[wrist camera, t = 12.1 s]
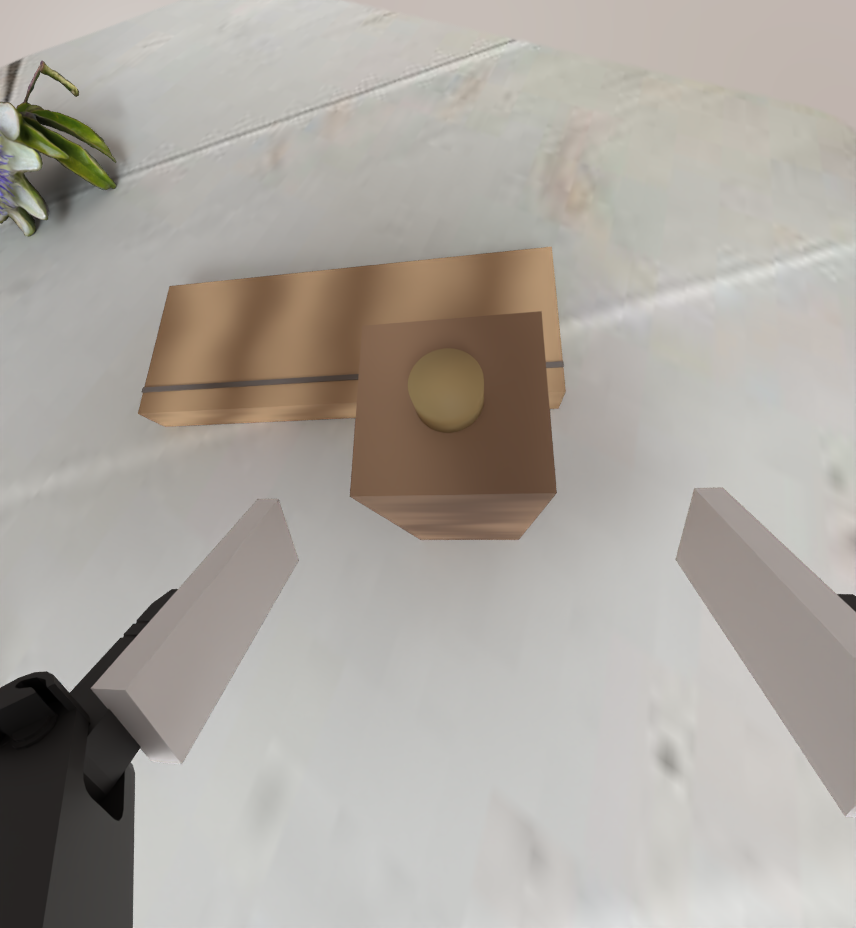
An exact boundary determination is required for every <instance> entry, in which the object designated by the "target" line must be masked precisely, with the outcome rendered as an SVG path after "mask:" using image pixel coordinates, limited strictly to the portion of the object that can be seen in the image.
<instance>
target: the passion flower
mask: <svg viewBox="0 0 856 928" xmlns="http://www.w3.org/2000/svg"><path fill="white" fill-rule="evenodd" d="M40 72H41V73H42V74H45V75H48V76H50V77H51V78H53V79H55V80H57V81H59V82H60V83H61V84H63V85H64V86H65V87H66V88H67V89H68V90H69V91H70V92H71V93H72V94H73V95H74V96H76V97H77V96H78V95H79V91H78V89H77V88H76V87H75V86H74V85H73V84H72V83H71V82H69V81H68V80H66V79H65V78H64V77H63V76H62V75H60V74H59V73H58V72H56V71H54V70H52V69H50V68H49V67H48V66H47V65H46V64H45V62H44V61H41V63H40V66H39V68H38V69H37V71H36V73H35V74H34V77H33V79H32V81H31V83H30V85H29V87H28V91H27V95H26V97H25V100H24V102H23V103H22V104H20V105H18V106H17V109H16V108H15V107H14V106H13V105H12V104H11V103H9V102H0V223H1V224H2V223H3V221H6V220H7V218H8V217H9V216H10V217H11V218H12V219H13V220H14V221H15V223H16V224H17V225H18V227H19V228H20V229H21V230H22V231H23V232H24V235H25V236H31V235H32V234H33V233H34V232H35V230H36V228H35V220H34V219H33V217H32V216H34V217H36V218H39V219H41V220H48V212H49V210H48V207H47V205H46V203H45V201H44V199H43V198H42V197H41V195H40V194H39V192H38V191H37V190H36V189H35V188H34V187H33V186H32V185H31V183H30V182H29V181H28V179H27V178H26V177H25V175H24V173H25V172H32V171H38V170H41V168H42V165H43V163H42V158H41V155H40V154H39V152H40V153H43V154H45V155H46V156H48V157H51V158H54V159H56V160H57V161H59V162H60V163H61V164H62V165H63V166H64V167H66V168H68V169H70V170H71V171H72V172H74V173H75V174H77V175H79V176H80V177H82V178H83V179H84V180H86V181H88V182H89V183H91V184H93V185H94V186H96V187H98V188H100V189H102V190H107V189H109V188H112V189H115V188H116V184H115V183H114V182H113V180H112V179H111V178H110V177H109V176H108V175H107V173H106V172H105V171H104V170H103V168H102V167H101V166H100V165H99V163H98V162H97V161H96V160H95V159H94V158H93V157H92V156H91V155H90V154H89V153H88V152H87V151H86V150H85V149H83V148H82V147H81V146H80V145H78V144H76V143H74V142H72V141H70V140H68V139H66V138H65V137H63V136H62V135H60V134H58V133H57V132H54V131H51V130H49V129H47V128H46V127H44V126H42V125H46V126H49V127H53V128H55V129H57V130H59V131H63V132H66V133H68V134H70V135H72V136H74V137H76V138H77V139H79V140H81V141H83V142H85V143H87V144H88V145H90V146H91V147H93V148H96V149H97V150H99V151H100V152H102V153H103V154H105V155H107V156H108V157H109V158H111V159H112V160H113V161H114V162H115V163H116V160H115V158H114V157H113V156H112V154H111V152H110V150H109V148H108V147H107V146H106V144H105V143H104V140H103V139H102V138H101V137H99V135H98V134H97V133H95V132H94V131H93V130H92V129H91V128H90V127H88V126H87V125H85V124H83V123H82V122H80V121H78V120H76V119H74V118H71V117H69V116H66V115H64V114H61V113H58V112H53V111H52V112H51V111H49V110H44V109H43V108H42V107H40V106H37V105H31V104H29V103H28V102H27V101H28V98H29V95H30V93H31V92H32V90H33V89H34V85H35V82H36V80H37V79H38V77H39V75H40ZM41 124H42V125H41ZM29 213H30V214H31V215H32V216H31V215H30V214H29Z"/></svg>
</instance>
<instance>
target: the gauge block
mask: <svg viewBox="0 0 856 928" xmlns="http://www.w3.org/2000/svg"><path fill="white" fill-rule="evenodd" d="M556 493H557V491H556V479H555V467H554V455H553V443H552V431H551V419H550V407H549V395H548V383H547V371H546V359H545V347H544V335H543V323H542V311H538V312H525V313H513V314H501V315H488V316H476V317H464V318H452V319H439V320H427V321H415V322H402V323H390V324H378V325H365V326H362V336H361V350H360V364H359V378H358V391H357V405H356V419H355V433H354V446H353V460H352V474H351V488H350V497H351V498H353V499H355V500H356V501H358V502H360V503H361V504H363V505H365V506H366V507H368V508H369V509H371V510H373V511H374V512H376V513H378V514H379V515H381V516H383V517H384V518H386V519H388V520H389V521H391V522H392V523H394V524H396V525H397V526H399V527H401V528H402V529H404V530H406V531H407V532H409V533H410V534H412V535H414V536H415V537H417V538H419V539H420V540H519V539H520V538H521V536H522V535H523V534H524V533H525V531H526V530H527V529H528V528H529V527H530V525H531V524H532V523H533V522H534V520H535V519H536V518H537V517H538V515H539V514H540V513H541V512H542V511H543V509H544V508H545V507H546V506H547V504H548V503H549V502H550V501H551V499H552V498H553V497H554V496H555V494H556Z"/></svg>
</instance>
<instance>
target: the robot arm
mask: <svg viewBox="0 0 856 928" xmlns="http://www.w3.org/2000/svg"><path fill="white" fill-rule="evenodd" d="M298 561H299V559H298V556H297V553H296V550H295V547H294V544H293V541H292V538H291V535H290V532H289V529H288V526H287V523H286V520H285V517H284V514H283V511H282V508H281V505H280V502H279V499H257V501H256V502H255V503H254V504H253V505H252V506H251V507H250V508H249V510H248V511H247V512H246V513H245V514H244V515H243V516H242V518H241V519H240V520H239V521H238V522H237V523H236V524H235V525H234V527H233V528H232V529H231V530H230V531H229V532H228V533H227V535H226V536H225V537H224V538H223V539H222V540H221V541H220V542H219V544H218V545H217V546H216V547H215V548H214V549H213V550H212V552H211V553H210V554H209V555H208V556H207V557H206V558H205V559H204V561H203V562H202V563H201V564H200V565H199V566H198V567H197V568H196V570H195V571H194V572H193V573H192V574H191V575H190V576H189V578H188V579H187V580H186V581H185V582H184V583H183V584H182V585H181V587H180V588H179V589H172V590H170V591H169V592H167V593H166V594H165V595H163V596H162V597H160V598H159V599H158V600H156V601H155V602H154V603H152V604H151V605H150V606H149V607H148V609H147V610H146V611H145V612H144V613H143V614H142V615H141V616H140V617H139V618H138V619H137V623H136V624H133V625H132V626H131V627H130V628H129V629H128V630H127V631H126V632H125V633H124V637H123V638H120V639H119V640H118V641H117V642H116V643H115V644H114V645H113V646H112V648H111V649H110V650H109V651H108V652H107V653H106V654H105V655H104V656H103V657H102V658H101V660H100V661H99V662H98V663H97V664H96V665H95V666H94V667H93V668H92V669H91V670H90V671H89V673H88V674H87V675H86V676H85V677H84V678H83V679H82V680H81V681H80V682H79V683H78V684H77V686H76V687H75V688H74V689H73V690H72V691H71V692H70V693H69V692H68V691H67V690H66V689H65V687H64V686H63V685H62V684H61V683H60V682H59V681H58V680H57V678H56V677H55V676H54V675H52V674H50V673H49V672H34V673H31V674H28V675H25V676H23V677H20V678H17V679H16V680H14V681H12V682H10V683H8V684H6V685H5V686H3V687H1V688H0V928H133V870H134V802H135V772H134V768H133V765H132V764H131V761H132V759H133V758H134V756H135V755H136V753H137V752H138V750H139V749H140V748H141V750H142V751H143V752H144V753H145V754H146V756H147V757H148V758H149V759H150V761H151V762H160V763H172V764H182V763H183V761H184V760H185V758H186V756H187V755H188V753H189V751H190V749H191V748H192V746H193V744H194V742H195V741H196V739H197V737H198V735H199V734H200V732H201V730H202V728H203V727H204V725H205V723H206V721H207V720H208V718H209V716H210V714H211V713H212V711H213V709H214V707H215V706H216V704H217V702H218V700H219V699H220V697H221V695H222V693H223V692H224V690H225V688H226V686H227V685H228V683H229V681H230V679H231V678H232V676H233V674H234V672H235V671H236V669H237V667H238V665H239V664H240V662H241V660H242V659H243V657H244V655H245V653H246V652H247V650H248V648H249V646H250V645H251V643H252V641H253V639H254V638H255V636H256V634H257V632H258V631H259V629H260V627H261V625H262V624H263V622H264V620H265V618H266V617H267V615H268V613H269V611H270V610H271V608H272V606H273V604H274V603H275V601H276V599H277V597H278V596H279V594H280V592H281V590H282V589H283V587H284V585H285V583H286V582H287V580H288V578H289V576H290V575H291V573H292V571H293V569H294V568H295V566H296V564H297V563H298ZM676 561H677V562H678V564H679V566H680V567H681V569H682V570H683V572H684V573H685V575H686V576H687V578H688V579H689V581H690V582H691V584H692V585H693V587H694V588H695V590H696V591H697V593H698V594H699V596H700V597H701V599H702V600H703V602H704V603H705V605H706V606H707V608H708V609H709V611H710V612H711V614H712V616H713V617H714V619H715V620H716V622H717V623H718V625H719V626H720V628H721V629H722V631H723V632H724V634H725V635H726V637H727V638H728V640H729V641H730V643H731V644H732V646H733V647H734V649H735V650H736V652H737V653H738V655H739V656H740V658H741V659H742V661H743V662H744V664H745V665H746V667H747V669H748V670H749V672H750V673H751V675H752V676H753V678H754V679H755V681H756V682H757V684H758V685H759V687H760V688H761V690H762V691H763V693H764V694H765V696H766V697H767V699H768V700H769V702H770V703H771V705H772V706H773V708H774V709H775V711H776V712H777V714H778V715H779V717H780V719H781V720H782V722H783V723H784V725H785V726H786V728H787V729H788V731H789V732H790V734H791V735H792V737H793V738H794V740H795V741H796V743H797V744H798V746H799V747H800V749H801V750H802V752H803V753H804V755H805V756H806V758H807V759H808V761H809V762H810V764H811V765H812V767H813V769H814V770H815V772H816V773H817V775H818V776H819V778H820V779H821V781H822V782H823V784H824V785H825V787H826V788H827V790H828V791H829V793H830V794H831V796H832V797H833V799H834V800H835V802H836V803H837V805H838V806H839V808H840V809H841V811H842V812H843V814H844V815H845V817H856V596H855V595H853V594H836V593H835V592H834V591H833V590H832V589H830V588H829V587H828V586H827V585H826V584H825V583H824V582H823V581H822V580H821V579H820V578H819V577H818V576H817V575H816V574H814V573H813V572H812V571H811V570H810V569H809V568H808V567H807V566H806V565H805V564H804V563H803V562H802V561H801V560H800V559H799V558H797V557H796V556H795V555H794V554H793V553H792V552H791V551H790V550H789V549H788V548H787V547H786V546H785V545H784V544H783V543H781V542H780V541H779V540H778V539H777V538H776V537H775V536H774V535H773V534H772V533H771V532H770V531H769V530H768V529H767V528H765V527H764V526H763V525H762V524H761V523H760V522H759V521H758V520H757V519H756V518H755V517H754V516H753V515H752V514H751V513H749V512H748V511H747V510H746V509H745V508H744V507H743V506H742V505H741V504H740V503H739V502H738V501H737V500H736V499H735V498H733V497H732V496H731V495H730V494H729V493H728V492H727V491H726V490H725V489H724V488H694V492H693V496H692V499H691V503H690V507H689V511H688V514H687V518H686V522H685V526H684V529H683V533H682V537H681V541H680V545H679V548H678V552H677V556H676Z"/></svg>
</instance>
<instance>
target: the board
mask: <svg viewBox="0 0 856 928" xmlns="http://www.w3.org/2000/svg"><path fill="white" fill-rule="evenodd" d="M538 311H542V323H543V335H544V347H545V359H546V371H547V383H548V395H549V407H550V409H558V408H559V406H560V404H561V401H562V399H563V397H564V394H565V392H566V390H565V380H564V369H563V367H564V364H563V359H562V349H561V338H560V328H559V318H558V308H557V297H556V287H555V277H554V266H553V256H552V247H544V248H534V249H525V250H515V251H505V252H496V253H486V254H476V255H467V256H457V257H447V258H438V259H428V260H418V261H409V262H399V263H389V264H380V265H370V266H360V267H351V268H341V269H331V270H322V271H312V272H302V273H293V274H283V275H273V276H264V277H254V278H244V279H235V280H225V281H215V282H206V283H196V284H186V285H177V286H170V287H169V291H168V295H167V299H166V303H165V307H164V311H163V315H162V319H161V323H160V327H159V331H158V335H157V339H156V343H155V347H154V351H153V355H152V359H151V363H150V367H149V371H148V375H147V379H146V383H145V387H143V389H142V392H143V395H142V399H141V403H140V407H139V411H138V414H139V415H142V416H144V417H146V418H148V419H150V420H152V421H154V422H156V423H158V424H160V425H163V426H165V427H168V426H190V425H211V424H233V423H255V422H276V421H298V420H320V419H341V418H356V405H357V391H358V378H359V364H360V350H361V336H362V326H365V325H378V324H390V323H402V322H415V321H427V320H439V319H452V318H464V317H476V316H488V315H501V314H513V313H525V312H538Z"/></svg>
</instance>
